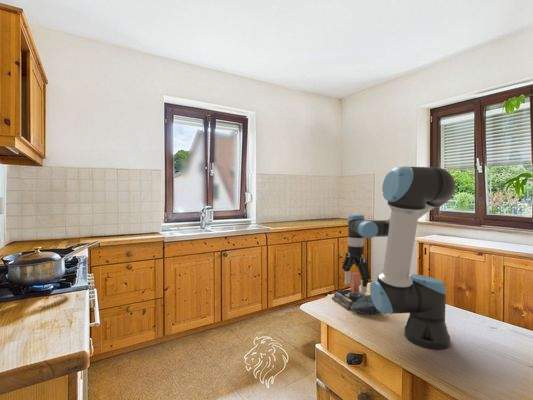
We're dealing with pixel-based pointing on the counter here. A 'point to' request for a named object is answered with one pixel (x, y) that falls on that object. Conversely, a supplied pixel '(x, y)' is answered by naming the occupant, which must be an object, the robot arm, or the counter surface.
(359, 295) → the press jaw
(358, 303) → the rock
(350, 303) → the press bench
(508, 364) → the counter surface
